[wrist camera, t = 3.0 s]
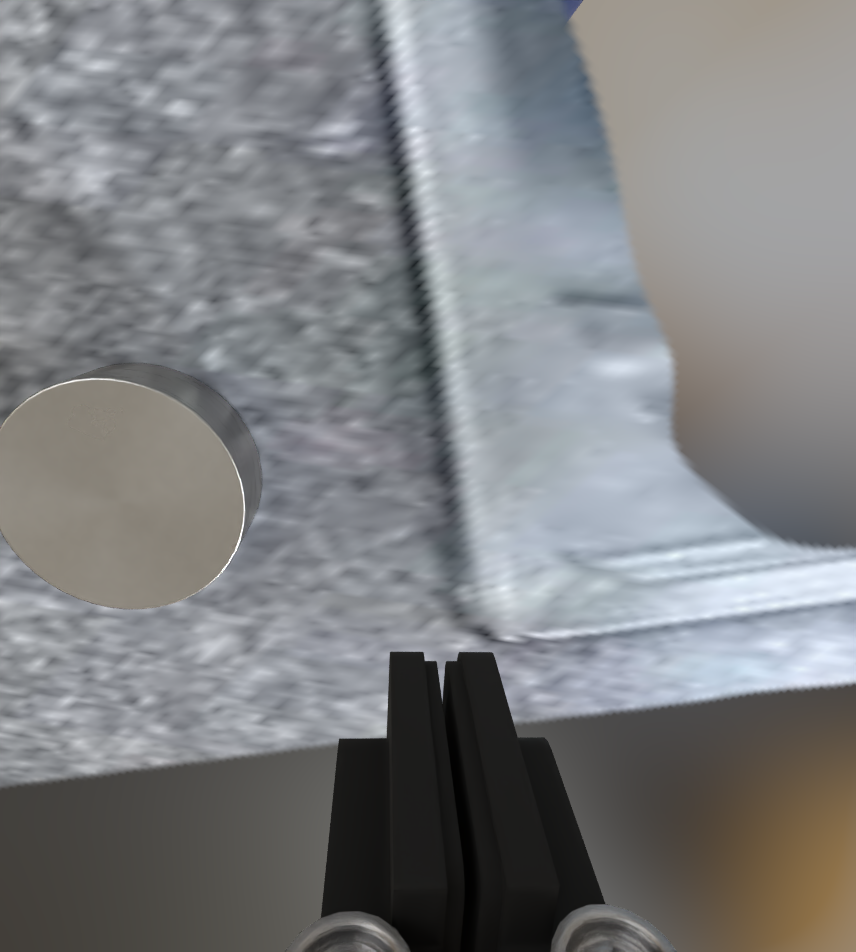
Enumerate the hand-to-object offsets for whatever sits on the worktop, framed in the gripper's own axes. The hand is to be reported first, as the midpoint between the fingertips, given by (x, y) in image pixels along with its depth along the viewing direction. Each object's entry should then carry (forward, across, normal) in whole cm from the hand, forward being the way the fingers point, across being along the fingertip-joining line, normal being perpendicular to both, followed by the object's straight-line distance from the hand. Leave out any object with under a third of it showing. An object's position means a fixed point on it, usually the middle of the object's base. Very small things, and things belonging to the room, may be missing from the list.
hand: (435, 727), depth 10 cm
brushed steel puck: (+11, +8, -1) cm, 14 cm away
